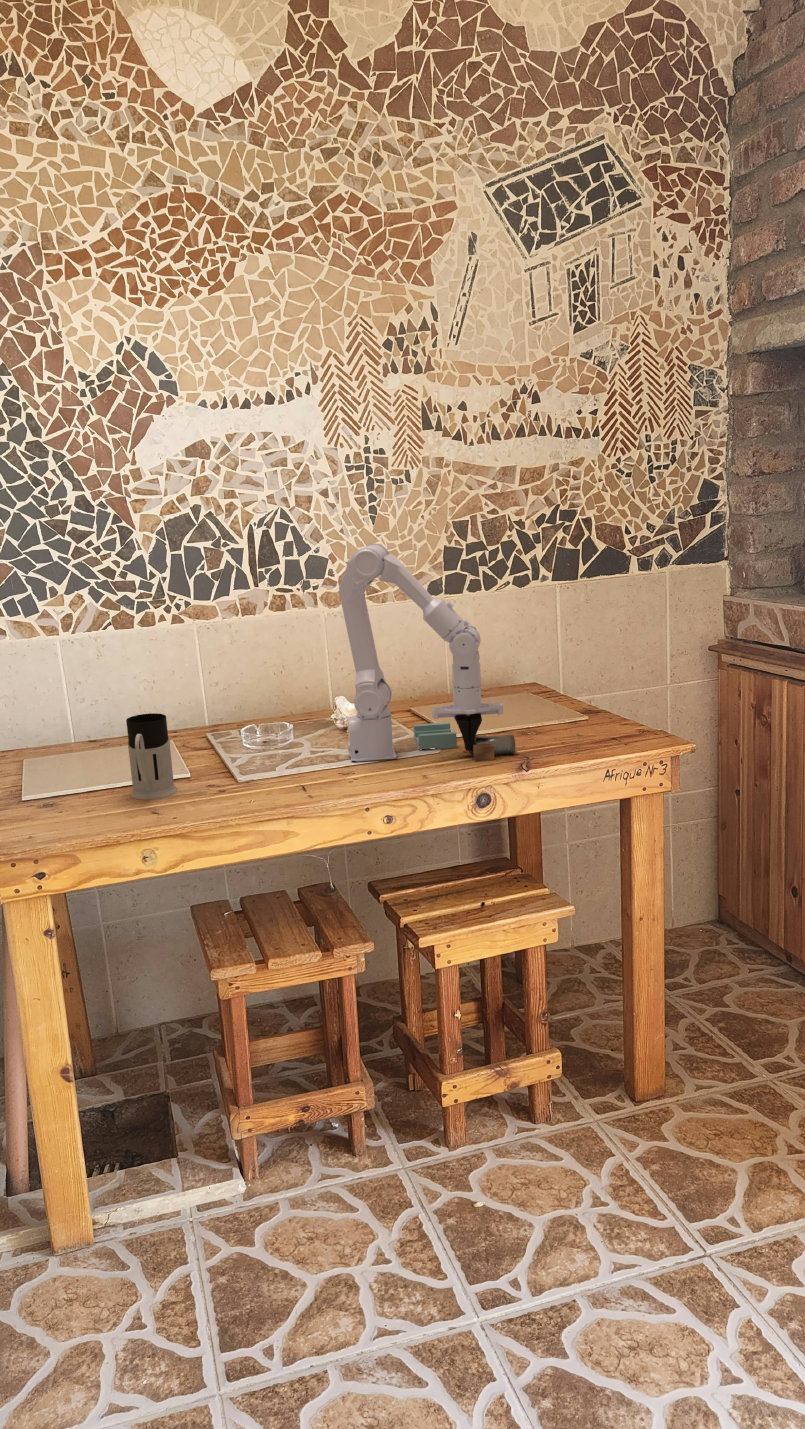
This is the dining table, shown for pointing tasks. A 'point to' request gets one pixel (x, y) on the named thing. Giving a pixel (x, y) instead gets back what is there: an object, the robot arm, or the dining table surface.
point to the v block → (435, 736)
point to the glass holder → (150, 757)
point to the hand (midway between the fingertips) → (468, 749)
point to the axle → (498, 743)
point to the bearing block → (483, 752)
